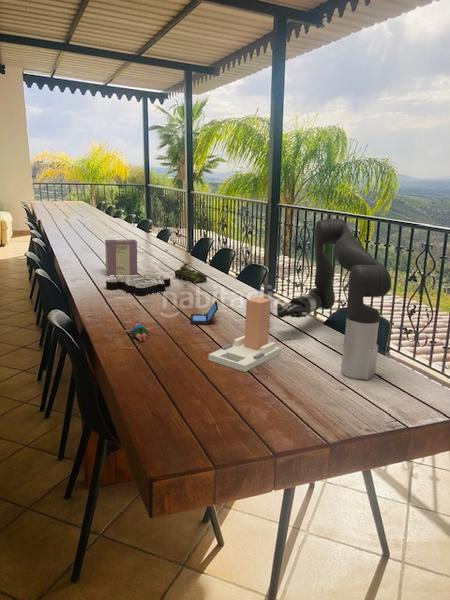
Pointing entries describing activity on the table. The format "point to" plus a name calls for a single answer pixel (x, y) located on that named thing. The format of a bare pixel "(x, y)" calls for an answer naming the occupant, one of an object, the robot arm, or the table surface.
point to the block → (257, 322)
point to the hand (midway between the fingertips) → (279, 314)
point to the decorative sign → (139, 284)
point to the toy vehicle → (189, 275)
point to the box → (121, 257)
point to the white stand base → (244, 355)
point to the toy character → (139, 331)
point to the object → (204, 316)
